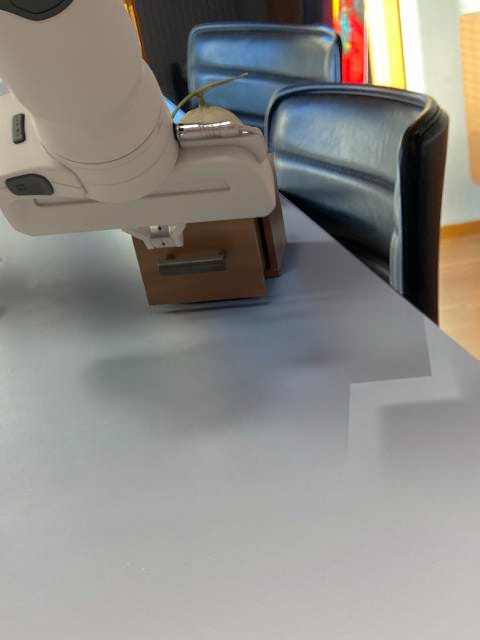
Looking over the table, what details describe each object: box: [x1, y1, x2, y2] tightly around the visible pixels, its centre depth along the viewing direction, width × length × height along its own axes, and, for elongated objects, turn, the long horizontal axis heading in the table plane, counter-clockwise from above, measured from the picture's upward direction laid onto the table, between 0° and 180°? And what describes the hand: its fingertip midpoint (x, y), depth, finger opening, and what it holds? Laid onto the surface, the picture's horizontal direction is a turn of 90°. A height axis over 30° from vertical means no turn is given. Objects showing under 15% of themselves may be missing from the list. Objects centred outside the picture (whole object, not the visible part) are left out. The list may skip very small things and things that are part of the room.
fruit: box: [171, 72, 249, 125], centre depth 132 cm, size 10×12×15 cm
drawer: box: [130, 217, 268, 307], centre depth 100 cm, size 17×11×8 cm
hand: (165, 240), depth 85 cm, fingers closed
